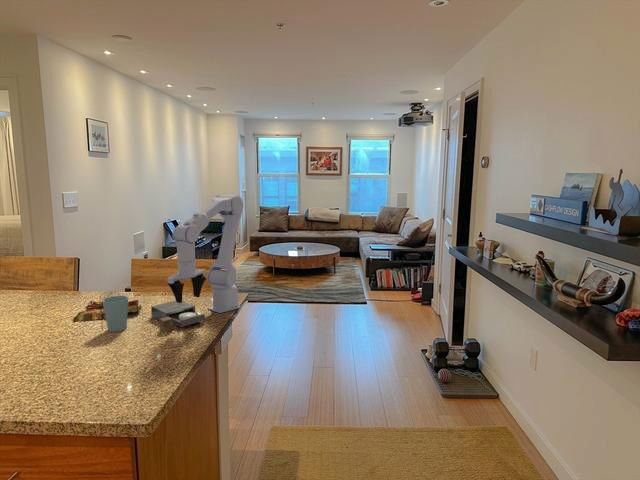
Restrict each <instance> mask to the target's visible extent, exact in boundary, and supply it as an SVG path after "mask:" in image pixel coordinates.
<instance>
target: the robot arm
mask: <svg viewBox="0 0 640 480" xmlns="http://www.w3.org/2000/svg"><path fill="white" fill-rule="evenodd" d="M243 208H244V203H243V200H242V197H241V196H240V195H225V194H224V195H222V194H217V195H216V196H214V197H213V198H212V202H211V203H210V204H209V205H208V206H207V207H206V208H205V209H204V210H203V211H202V212H194V213H193V215H192V217H190V218H189V219H188V220H186V221H184V223H183V224H179V225H177V226H176V227H175V228H174V229H173V231H172V234H171V235H172V239H173V241H174V243H175V246H176V247H175V248H176V254H177V255H176V256H177V273H175V274H173V275H171V276H167V285H168V286H169V288H170V289H171V291H172V293H173V296H174V299H175V301H176V302H178V303H182V301H183V289H184V286H185V284H184V283H182V281H185V280H186V281H187V280H188V279H190V280H191V283H192V290H193V291H192V293H193V297H194V298H200V295H201V292H202V288H203V285H204V283H205V282H206V280H207V283H208V284H209V285H210V287H211V290H212V291H211V292H212V294H211V295H212V306H209V307H207V309H208V310H210V311H213V312H215V313H216V314H217V313H218V314H223V313H227V312H229V311H233V310H236V309H240V308H241V306H240V305H239V290H238V287H237V285H235V284H236V280H237V274H236V273H237V268H236V266H235V265H234V264H233V263H232V261H233V255H234V250H235V246H236V242H237V241H236V240H237V236H238V230H239V226H240V220H241V218H242V213H243ZM217 215H220V217H221V218H222V219H224V226H223V231H222V235H221V241H220V246H219V251H218V255H217V260H216V261H215V262H213V263H212V264H211V265H210V268H209V270H208V272H207V275H206V269H196V265H197V263H196V242H197V241H198V240H199V236H200V234H201V233H202V231H203V230H205V229H206V228H207V227H209V224H210V220H211V219H213V218H214V217H215V216H217Z"/></svg>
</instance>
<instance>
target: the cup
mask: <svg viewBox="0 0 640 480" xmlns="http://www.w3.org/2000/svg"><path fill="white" fill-rule="evenodd" d="M101 302H103V307H104V311H105V316H106V320H105V322H106V326H107V330H108V332H110V333H119V332H121V331H124V330H127V328H128V326H127V325H128V312H127V311H128V302H129V296H127V295H114V296H109V297H105V298H103V299H102V300H101Z"/></svg>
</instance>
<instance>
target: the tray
mask: <svg viewBox="0 0 640 480" xmlns="http://www.w3.org/2000/svg"><path fill="white" fill-rule="evenodd" d="M189 312H191V313H194V312H192V311H186V312H182V313H189ZM182 313H178V314H175V315H171V316H169V317H170V318H172V319H173V325H177V326H179V328H180V327H181V328H183V327H187V326H191V325H194V324H196V323H200V322H204V321H206V314H205V313H201V314H199V313H197V312H195V314H196V316H193V317H189V318H186V319H182V320H180V321H179V315H180V314H182Z"/></svg>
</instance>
